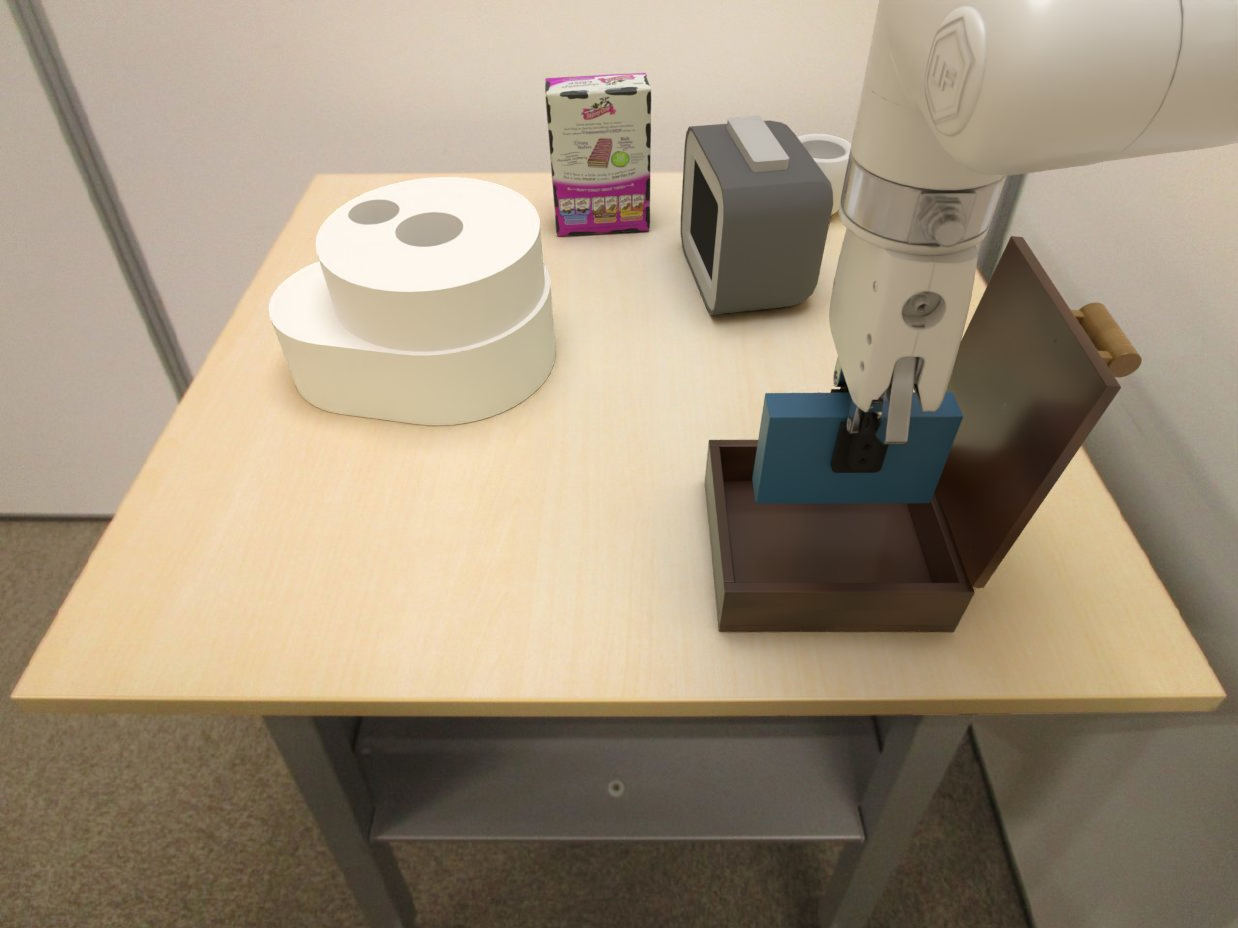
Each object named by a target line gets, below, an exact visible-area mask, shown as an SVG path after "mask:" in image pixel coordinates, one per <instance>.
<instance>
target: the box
mask: <svg viewBox="0 0 1238 928" xmlns="http://www.w3.org/2000/svg"><path fill="white" fill-rule="evenodd" d="M757 444H758V439H708V444H707V453H706V454H707V455H706V463H705V474H704V489H705V499H706V511H707V512H706V513H707V519H708V520H707V522H708V532H709V533H708V534H709V543H710V553H711V564H712V574H713V576H712V577H713V584H714V596H715V606H716V607H715V608H716V617H717V628H718V632H719V633H720V632H721V633H722V632H724V633H726V632H727V633H730V632H731V633H736V632H737V633H738V632H739V633H740V632H741V633H743V632H744V633H745V632H746V633H747V632H749V633H750V632H753V633H754V632H757V633H763V632H765V633H766V632H767V633H772V632H773V633H777V632H779V633H785V632H786V633H787V632H788V633H791V632H792V633H794V632H795V633H798V632H799V633H821V632H822V633H839V632H842V633H926V632H927V633H954V632H956V629H957V627H958V625H959V624H960V622H961V620H962V618H963V616H964V614H965V612H966V610H967V608H968V607H969V604H970V603H971V601H972V599H973V597H974V596H975V593H976V590H975V588H972V587H971V584H970V581H969V578H968V576H967V573H966V570H965V567H964V565H963V562H962V559H961V556H960V554H959V551H958V548H957V545H956V542H955V540H954V537H953V534H952V531H951V529H950V526H949V523H948V520H947V518H946V515H945V512H944V509H943V507H942V504H941V501H940V498H939V496H938V493H937V490H936V489H935V492H934V494H933V497H932V500H931V502H930V503H866V504H756V500H755V494H754V488H753V481H752V478H753V471H754V464H755V458H756V451H757Z"/></svg>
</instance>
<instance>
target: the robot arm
mask: <svg viewBox="0 0 1238 928" xmlns="http://www.w3.org/2000/svg"><path fill="white" fill-rule="evenodd" d="M855 118H856V119H855V123H854V129H853V133H852V138H851V149H850V153H849V159H848V164H847V169H846V174H845V179H844V184H843V190H842V195H841V201H840V206H839V210H838V211H837V212H838V217H839V219H840V222H841V223H842V225H843V226H844V228H846V229H845V233H844V237H843V240H842V244H841V248H840V251H839V256H838V262H837V264H836V269H835V274H834V277H833V278H834V279H833V284H832V288H831V295H830V301H829V311H828V321H829V322H828V323H829V328H830V333H831V337H832V341H833V345H834V347H835V351H836V355H837V357H836V362H835V366H834V371H833V376H832V377H833V378H832V382H833V386H834V388H831V390H830V392H829V393H850V395H851V398H852V400H851V404H850V409H849V413H848V417H847V422H840V427H839V431H838V435H837V439H836V443H835V447H834V451H833V455H832V459H831V468H832V471H833V472H835V473H876V472H879V471H880V470H881V469H882V465H883V462H884V459H885V456H886V452H887V449H888V446H889V445H903V444H906V443H907V439H908V432H909V423H910V415H911V406H912V398H913V392H915V394H916V396H917V399H918V401H919V404H920V406H921V409H922V411H923V412H925V411H929V412H935V411H936V410H937V409H938V408H939V407H940V406H941V404H942V402H943V399H944V396H945V393H946V390H947V387H948V384H949V381H950V377H951V374H952V371H953V367H954V364H955V360H956V357H957V353H958V350H959V346H960V343H961V340H962V338H963V336H964V331H965V327H966V324H967V320H968V316H969V315H968V314H969V311H970V306H971V301H972V296H973V291H974V285H975V279H976V278H975V277H976V272H977V271H976V270H977V264H978V257H979V252H978V248H977V245H979V244H981V242H982V241H984V239H985V238H986V237H987V234H988V232H989V229H990V227H991V222H992V220H993V217H994V215H995V211H996V209H997V205H998V202H999V200H1000V197H1001V194H1002V190H1003V187H1004V185H1005V182H1006V179H1007V176H1017V175H1026V174H1027V175H1028V174H1031V173H1032V174H1034V173H1041V172H1046V171H1054V170H1061V169H1062V170H1063V169H1068V168H1077V167H1085V166H1091V165H1095V164H1100V163H1104V162H1112V161H1119V160H1126V159H1135V158H1141V157H1148V156H1155V155H1165V154H1172V153H1182V152H1188V151H1196V150H1197V151H1198V150H1205V149H1213V148H1219V147H1223V146H1229V145H1233V144H1238V0H878V5H877V10H876V15H875V21H874V25H873V30H872V36H871V42H870V46H869V51H868V57H867V61H866V66H865V72H864V77H863V82H862V88H861V92H860V99H859V102H858V108H857V114H856V117H855ZM872 404H883V406H882V412H868V410H869V408H873V405H872ZM864 412H867V413H864Z"/></svg>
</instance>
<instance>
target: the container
mask: <svg viewBox="0 0 1238 928" xmlns="http://www.w3.org/2000/svg"><path fill="white" fill-rule="evenodd" d="M541 229H542V228H541V220H540V216H539V212H538V211H537V209H536V207H535V206H534V205H533V204H532V202H530V200H529V199H527V197H525V196H524V195H522V194H521V193H519V192H518V191H516V190H513V188H510V187H507V186H504V185H502V184H500V183H499V184H498V183H495V182H492V181H488V180H484V179H477V178H473V177H472V178H471V177H461V176H460V177H459V176H437V177H436V176H435V177H423V178H415V179H410V180H409V179H408V180H404V181H399V182H395V183H390V184H386V185H384V186H381V187H377V188H373V189H372V190H368V191H366V192H364V193H362V194H359V195H358V196H356V197H354V198H352V199H350V200H349V201H347V202H346V203H343V204H342V205H341V206H339V207H338V208H336V209H335V210H334V211H333V212H332V213H331V214H330V215H328V216H327V218H326V219H325V220H324V221H323V222H322V225H320V228H319V229H318V231H317V234H316V237H315V251H316V255H317V258H318V260H317V261H316V262H313V263H310V264H309V265H306V266H304V267H302V268H300V269H299V270H297V271H295V272H293V274H291V275H290V276H288V277H287V278H286V279H285V280H283V281H282V282H281V283H280V284H279V285H278V286H277V288H276V289H275V290H274V292H273V293H272V294H271V297H270V299H269V302H268V316H269V319H270V322H271V324H272V327H273V329H274V332H275V335H276V337H277V341H278V343H279V345H280V348H281V350H282V353H283V356H284V358H285V361H286V363H287V366H288V369H289V371H290V374H291V377H292V379H293V382H294V384H295V387H296V389H297V391H298V393H299V394H300V395H301V397H302V398H303V399H304V400H305V401H306V402H307V403H309V404H310V405H312V406H313V407H316V408H318V409H319V410H322V411H326V412H329V413H331V414H332V413H333V414H338V415H346V416H352V417H358V418H367V419H375V420H382V421H390V422H398V423H405V424H413V425H419V426H440V427H441V426H455V425H462V424H469V423H473V422H478V421H482V420H485V419H488V418H491V417H495V416H497V415H499V414H502V413H504V412H506V411H509V410H510V409H512V408H514V407H516V406H518V405H519V404H521V403H523V402H524V401H525V400H527V399H529V398H530V397H531V396H533V394H534V393H535V392H536V391H538V390H539V389H540V388H541V386H542V385H543V384H544V383H545V382H546V380H547V379H548V378H549V376H550V375H551V372H552V370H553V368H554V366H555V365H554V364H555V362H556V355H557V350H556V338H555V337H556V336H555V324H554V312H553V301H552V299H553V298H552V287H551V286H552V285H551V276H550V272H549V270H548V267H547V265H546V264H545V262H544V254H543V253H544V252H543V245H542V244H543V243H542V231H541Z"/></svg>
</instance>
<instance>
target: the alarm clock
mask: <svg viewBox="0 0 1238 928" xmlns="http://www.w3.org/2000/svg"><path fill="white" fill-rule="evenodd" d="M798 137H799V136H797V135H796V133H795V132H794V131H793V130H792V129H791V128H790V127H789V126H788V124H787V123H784V122H781V121H775V120H764V119H763V118H762V116H760V115H750V116H737V117H736V116H735V117H729V118H727V121H726V123H720V124H719V123H718V124H707V125H705V124H704V125H692V126H688V128H687V130H686V132H685V139H684V148H683V149H684V150H683V166H682V167H683V170H682V186H681V203H680V204H681V206H680V238H681V239H680V240H681V247H682V251H683V255H684V258H685V260H686V262H687V265H688V267H689V269H690V270H689V271H690V272H691V274H692V276H693V279H694V282H695V284H696V286H697V289H698V291H699V294H700V296H701V298H702V300H703V301H702V302H703V304H704V305H705V308H706V310H707V312H708V313H709V314H710V315H711V316H712V315H713V316H714V315H722V314H733V313H742V312H751V311H753V312H754V311H759V310H760V311H762V310H771V309H780V308H790V307H793V306H796V305H799V304H802V303H803V302H805V301H807V300H808V299H809V298H810V297H811V296H812V295H813V294H814V292H815V289H816V288H817V286H818V282H819V278H820V273H821V268H822V262H823V257H824V252H825V249H826V244H827V243H826V242H827V238H828V232H829V227H830V223H831V219H832V216H831V213H832V208H833V190H832V186H831V182H830V181H829V180H828V178H827V177H826V176H825V174H824V173H823V171H822V170H821V169H820V167H819V166H818V165H817V163H816V162H815V161H814V159H813V158H812V156H811V155H810V154H809V152H808V151H807V150H806V148H805V147H804V146H803V144H802V143H801V142H800V140H799V139H798Z"/></svg>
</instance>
